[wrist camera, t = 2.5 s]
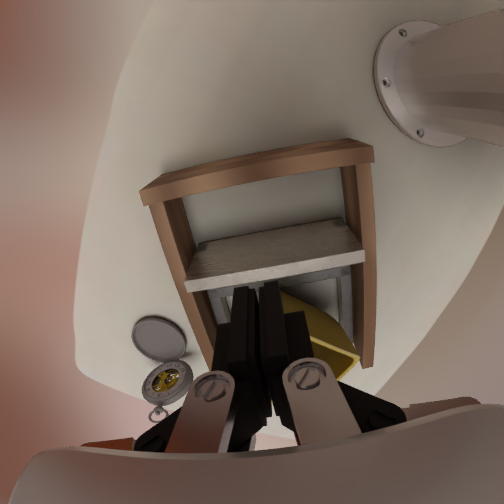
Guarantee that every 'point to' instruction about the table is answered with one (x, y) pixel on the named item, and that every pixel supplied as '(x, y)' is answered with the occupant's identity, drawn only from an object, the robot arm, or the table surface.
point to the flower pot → (325, 337)
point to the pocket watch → (164, 350)
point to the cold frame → (260, 168)
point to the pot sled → (278, 263)
